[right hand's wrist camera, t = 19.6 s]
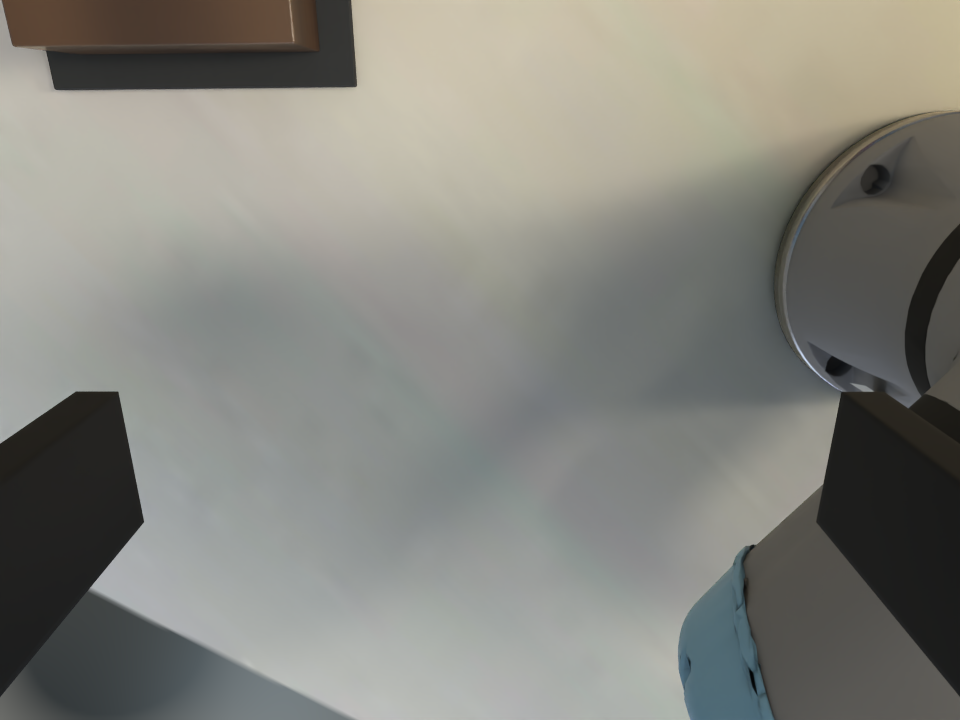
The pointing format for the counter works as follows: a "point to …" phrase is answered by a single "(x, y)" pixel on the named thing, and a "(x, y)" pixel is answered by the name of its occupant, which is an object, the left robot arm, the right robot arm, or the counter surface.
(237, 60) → the coaster
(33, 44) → the lid
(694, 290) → the counter surface
